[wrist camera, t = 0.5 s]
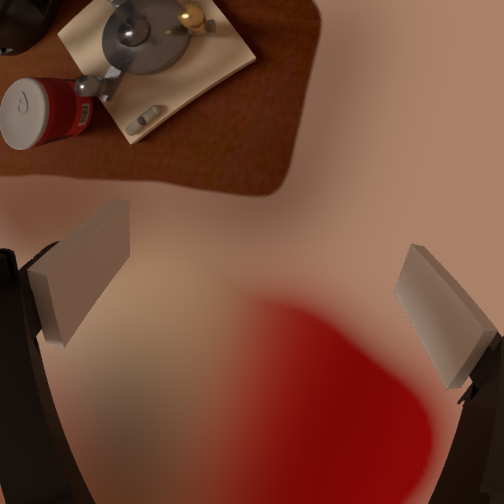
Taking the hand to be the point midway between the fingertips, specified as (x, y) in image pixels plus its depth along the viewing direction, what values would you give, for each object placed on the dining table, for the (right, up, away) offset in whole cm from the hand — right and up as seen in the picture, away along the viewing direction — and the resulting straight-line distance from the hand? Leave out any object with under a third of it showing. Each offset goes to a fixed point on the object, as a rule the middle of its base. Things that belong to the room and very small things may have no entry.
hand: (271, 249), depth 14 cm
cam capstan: (-11, +24, +14) cm, 30 cm away
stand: (-13, +25, +16) cm, 33 cm away
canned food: (-24, +19, +20) cm, 37 cm away
